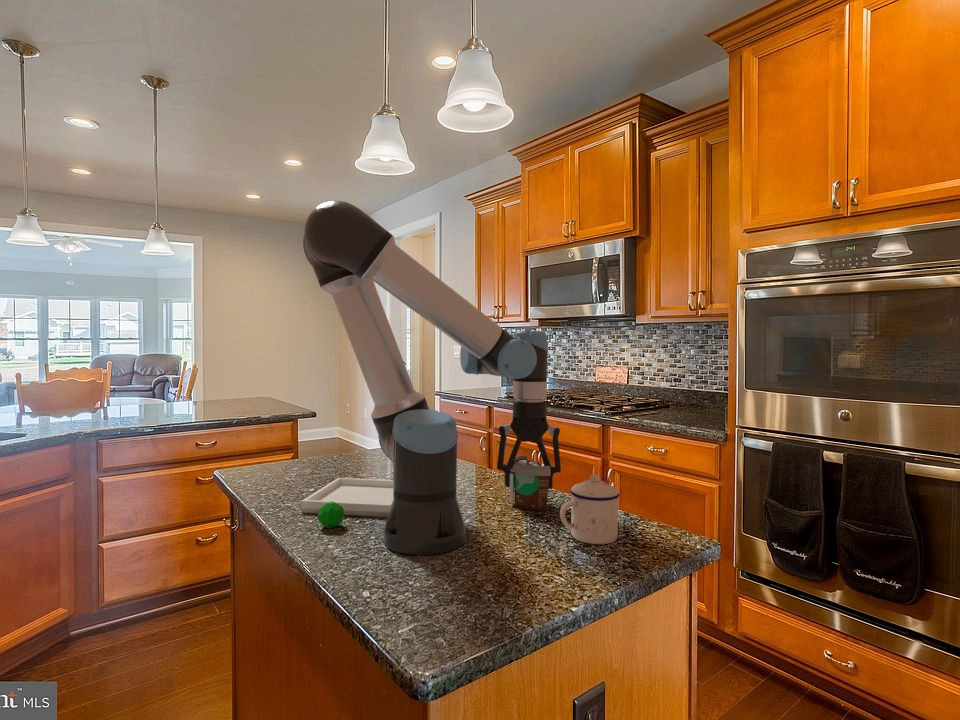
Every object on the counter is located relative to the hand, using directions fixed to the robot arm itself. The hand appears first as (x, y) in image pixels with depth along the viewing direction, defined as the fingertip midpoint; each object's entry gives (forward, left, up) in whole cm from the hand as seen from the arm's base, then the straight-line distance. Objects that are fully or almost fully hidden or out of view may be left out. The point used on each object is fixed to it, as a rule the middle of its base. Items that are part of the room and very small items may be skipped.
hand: (528, 501), depth 121 cm
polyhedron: (-20, +38, -1) cm, 43 cm away
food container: (0, +1, -1) cm, 1 cm away
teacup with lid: (-18, -12, -1) cm, 22 cm away
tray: (-3, +38, -1) cm, 38 cm away
